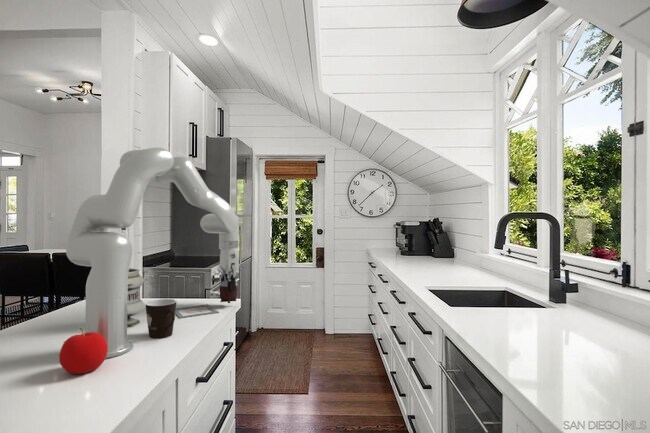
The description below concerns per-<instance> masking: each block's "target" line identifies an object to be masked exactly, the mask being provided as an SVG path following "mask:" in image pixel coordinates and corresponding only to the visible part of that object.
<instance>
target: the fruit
mask: <svg viewBox="0 0 650 433" xmlns="http://www.w3.org/2000/svg"><path fill="white" fill-rule="evenodd" d="M79 330H80V331H81V333H80V334H75V335H71V336H69V337H68V338H67V339H66V340H65V343H64V342H63V344H62V346H61V348H60V349H59V351H60V352H59V357H58V358H59V359H58V360H59V364H60V366H61V368H62V369H63V370H64V371H65V372H66V373H68V374H72V375H73V374H75V375H77V374H78V375H81V374H85V373H91V372H94V371H95V370H97V369H98V368H100V366H101V365H102V364H103V363H104V361H106V360H105V359H107V358H106V355H107V351H108V345H107V342H106V340H105V338H104V337H103V336H102V335H101V334H99V333H95V332H89V333H85V332H84V331H83V327H81V326H80V327H79Z"/></svg>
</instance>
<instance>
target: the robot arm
mask: <svg viewBox="0 0 650 433" xmlns="http://www.w3.org/2000/svg"><path fill="white" fill-rule="evenodd" d="M150 182H156V183H173V184H175V186H176V187H177V189H178V190H179V191H180V193H181V195H182V196H183V197H184V200H186V202H187V203H189V204H190V205H192V206H195V207H197V208H199V209H201V210H205V211H207V212H210V213H208V214H205V215H203V216H202V218H200V223H199V225H200V227H201V229H202V230H203V231H204V232H205V233H208V234H218V249H219V250H220V253H219V270H220V284H221V283H222V281H225V280H224V274H223V270H222V269H221V267H222V268H223V269H224V270H225V277H226V281H227V280H229V281H228V286H227V291H228V292H229V291H235V290H236V283H237V274H239V273H240V263H239V261H240V260H239V250H238V249H239V235H240V234H239V227H240V224H239V220H240V219H239V216H238V215H237V214H236V212H235V211H234V209H233V208H232V206H231V205H230V204H229V203H228V202H227V201H226V200H225V199H224V198H222V197H220V195H219V194H217V193H216V192H214V191H212V190H210V189H209V188H208V186H207V185H206V183H205V181H204V180H203V178H202V176H201V174H200V173H199V171H198V170H197V169H196V167H195V165H194V163H193V162H192V161H191V160H190V158H188V157H185V156H174V155H173V153H172V152H171V151H170V150H168V149H167V148H164V147H163V148H162V147H151V148H144V149H133V150H129V151H128V150H127V151H126V152H124V153H123V154H122V155H121V156H120V159H119V167H118V168H117V169H116V171H115V172H114V175H113V177H112V179H111V182H110V185H109V188H108V189H107V191H106V193H105V194H95V195H92V196H91V195H90V196H88V198H85V200H84V201H83V202H82V203H81V204H80V206H79V207H78V209H77V212H76V213H75V214H76V215H75V217H74V220H73V223H72V224H71V225H72V226H71V229H70V230H69V231H70V232H69V234H68V238H67V239H66V240H67V241H66V245H65V254H66V257H67V259H68V260H69V261H70V262H71V263H73V264H74V265H77V266H83V267H90V268H91V269H90V271H89V274H88V276H87V279H86V284H85V314H84V315H85V319H84V320H85V322H84V324H85V325H84V326H85V328H84V330H85V332H84V333H89V332H95V333H99V334H101V335H102V336H103V337H104V338H105V340H106V342H107V345H108V351H107V355H106V358H105V359H108V358H113V357H118V356H120V355H124V354H125V353H126V354H127V352H129V351H131V350H132V349H133V348H134V341H133V340H132V339H129V338H128V327H127V301H128V272H129V268H130V267H131V266H130V265H131V261H132V258H133V245H132V242H131V241H130V239H129V238H127V236H126V235H123V234H121V233H119V232H113V231H109V229H127V228H129V227H131V226H133V224H134V223H135V221H136V220H137V216H138V214H139V210H140V206H141V204H142V200H143V197H144V194H145V190H146V189H147V187H148V185H149V183H150ZM220 266H221V267H220ZM65 341H66V340H65ZM65 341H63V344H64V343H65Z"/></svg>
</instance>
